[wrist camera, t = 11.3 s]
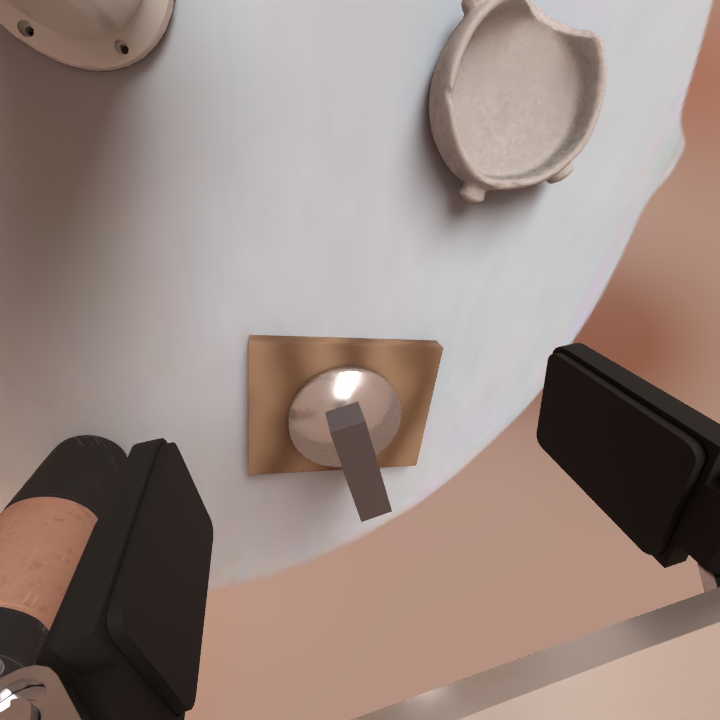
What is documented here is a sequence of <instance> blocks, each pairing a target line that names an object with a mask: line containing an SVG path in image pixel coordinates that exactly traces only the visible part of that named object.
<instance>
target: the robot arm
mask: <svg viewBox="0 0 720 720" xmlns="http://www.w3.org/2000/svg"><path fill="white" fill-rule="evenodd" d="M173 5H174V0H0V24H1V25H3V26H4V27H5V28H6V29H7V30H8V31H10V32H11V33H12V34H13V35H14V36H15V37H16V38H18V39H19V40H21V41H23V42H24V43H26V44H27V45H29V46H30V47H32V48H33V49H35V50H36V51H38V52H40V53H42V54H44V55H46V56H48V57H50V58H52V59H53V60H56V61H59V62H61V63H64V64H67V65H70V66H72V67H75V68H81V69H87V70H93V71H104V70H115V69H119V68H123V67H127V66H130V65H132V64H133V63H135V62H137V61H139V60H141V59H142V58H144V57H145V56H146V55H147V54H148V53H149V52H150V51H151V50H152V49H153V48H154V47H155V46H157V44H158V42H159V41H160V39H161V38H162V36H163V34H164V33H165V31H166V29H167V26H168V23H169V20H170V18H171V15H172V12H173ZM32 28H33V30H34V35H33V36H32V37H31V36H30V34H29V30H30V29H32ZM123 46H126V47H128V50H129V51H128V53H127V54H123V52H122V48H123ZM537 439H538V442H539V444H540V446H541V447H542V448H543V449H544V450H545V451H546V452H547V453H548V454H549V455H550V457H552V459H553V460H554V461H555V462H556V463H557V464H558V465H559V466H560V467H561V468H562V469H563V470H564V471H565V472H566V473H567V474H568V475H569V476H570V477H571V478H572V479H573V480H574V481H575V482H576V483H577V484H578V485H579V486H580V487H581V488H582V489H583V490H584V492H585V493H586V494H587V495H588V496H589V497H590V498H591V499H592V500H593V501H594V502H595V503H596V504H597V505H598V506H599V507H600V508H601V509H602V510H603V511H604V512H605V513H606V514H607V515H608V516H609V517H610V518H611V519H612V520H613V521H614V522H615V524H617V525H618V527H619V528H621V530H622V531H623V532H624V533H625V534H626V535H627V536H628V537H629V538H630V539H631V540H632V541H633V542H634V543H635V544H636V545H637V546H638V547H639V548H640V549H641V550H642V551H643V552H645V553H646V554H650V555H652V556H653V557H654V558H655V559H656V560H657V561H658V562H659V563H660V564H661V565H662V566H663V567H664V568H666V567H669V566H672V565H675V564H678V563H681V562H683V561H686V559H687V557H688V555H690V556H691V557H692V558H693V559H694V560H696V561H697V562H698V567H699V571H700V575H701V579H702V584H703V587H704V592H705V593H702V594H699V595H696V596H694V597H691V598H688V599H685V600H682V601H679V602H676V603H674V604H671V605H668V606H665V607H662V608H659V609H657V610H654V611H651V612H648V613H645V614H642V615H640V616H637V617H634V618H631V619H628V620H626V621H623V622H620V623H617V624H614V625H612V626H609V627H606V628H603V629H600V630H598V631H595V632H592V633H589V634H587V635H584V636H581V637H578V638H576V639H573V640H570V641H567V642H564V643H562V644H559V645H556V646H553V647H551V648H548V649H545V650H542V651H539V652H537V653H534V654H531V655H528V656H526V657H523V658H520V659H517V660H514V661H512V662H509V663H506V664H503V665H500V666H498V667H495V668H492V669H489V670H487V671H484V672H481V673H478V674H476V675H473V676H470V677H467V678H464V679H462V680H459V681H456V682H453V683H451V684H448V685H445V686H443V687H440V688H437V689H434V690H432V691H429V692H426V693H424V694H421V695H418V696H416V697H413V698H410V699H407V700H404V701H402V702H399V703H396V704H393V705H391V706H388V707H385V708H383V709H380V710H377V711H375V712H372V713H369V714H366V715H364V716H361V717H358V718H355V719H353V720H720V424H719V423H717V422H715V421H713V420H712V419H710V418H708V417H707V416H705V415H703V414H702V413H700V412H698V411H696V410H695V409H693V408H691V407H690V406H688V405H686V404H684V403H683V402H681V401H679V400H678V399H676V398H674V397H672V396H671V395H669V394H667V393H666V392H664V391H662V390H661V389H659V388H657V387H655V386H654V385H652V384H650V383H649V382H647V381H645V380H644V379H642V378H640V377H638V376H637V375H635V374H633V373H632V372H630V371H628V370H626V369H625V368H623V367H621V366H620V365H618V364H616V363H615V362H613V361H611V360H609V359H608V358H606V357H604V356H602V355H601V354H599V353H597V352H596V351H594V350H592V349H591V348H589V347H587V346H586V345H584V344H581V343H574V344H570V345H566V346H561V347H558V348H556V349H555V350H554V351H553V354H552V355H550V356H549V358H548V363H547V369H546V376H545V382H544V389H543V395H542V402H541V409H540V415H539V421H538V428H537ZM212 543H213V526H212V522H211V519H210V517H209V515H208V512H207V510H206V508H205V506H204V504H203V502H202V499H201V497H200V495H199V493H198V491H197V488H196V486H195V484H194V482H193V480H192V478H191V475H190V473H189V471H188V469H187V467H186V464H185V462H184V460H183V458H182V456H181V454H180V451H179V449H178V447H177V445H176V444H175V443H173V442H172V443H167V441H166V440H165V439H163V438H160V439H156V440H151V441H147V442H143V443H138V444H135V445H134V446H133V447H132V449H131V451H130V454H129V456H128V459H127V461H126V463H125V466H124V468H123V471H122V473H121V475H120V478H119V480H118V483H117V485H116V487H115V490H114V492H113V495H112V497H111V499H110V502H109V504H108V507H107V509H106V512H105V514H104V515H102V516H101V517H100V518H99V519H98V520H97V522H96V524H95V525H94V528H93V530H92V532H91V535H90V537H89V539H88V542H87V544H86V546H85V549H84V551H83V553H82V556H81V558H80V560H79V563H78V565H77V567H76V570H75V572H74V574H73V577H72V579H71V581H70V584H69V586H68V588H67V591H66V593H65V595H64V598H63V600H62V602H61V605H60V607H59V609H58V612H57V614H56V616H55V619H54V621H53V623H52V626H51V628H50V630H49V632H48V635H47V637H46V639H45V642H44V644H43V646H42V649H41V651H40V653H39V656H38V658H37V660H36V663H35V665H34V666H29V667H25V668H20V669H18V670H16V671H14V672H12V673H10V674H8V675H6V676H4V677H2V678H0V720H184V717H185V711H188V710H191V709H192V708H193V706H194V703H195V698H196V689H197V681H198V672H199V662H200V653H201V644H202V635H203V626H204V616H205V607H206V598H207V589H208V580H209V571H210V561H211V552H212Z"/></svg>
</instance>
